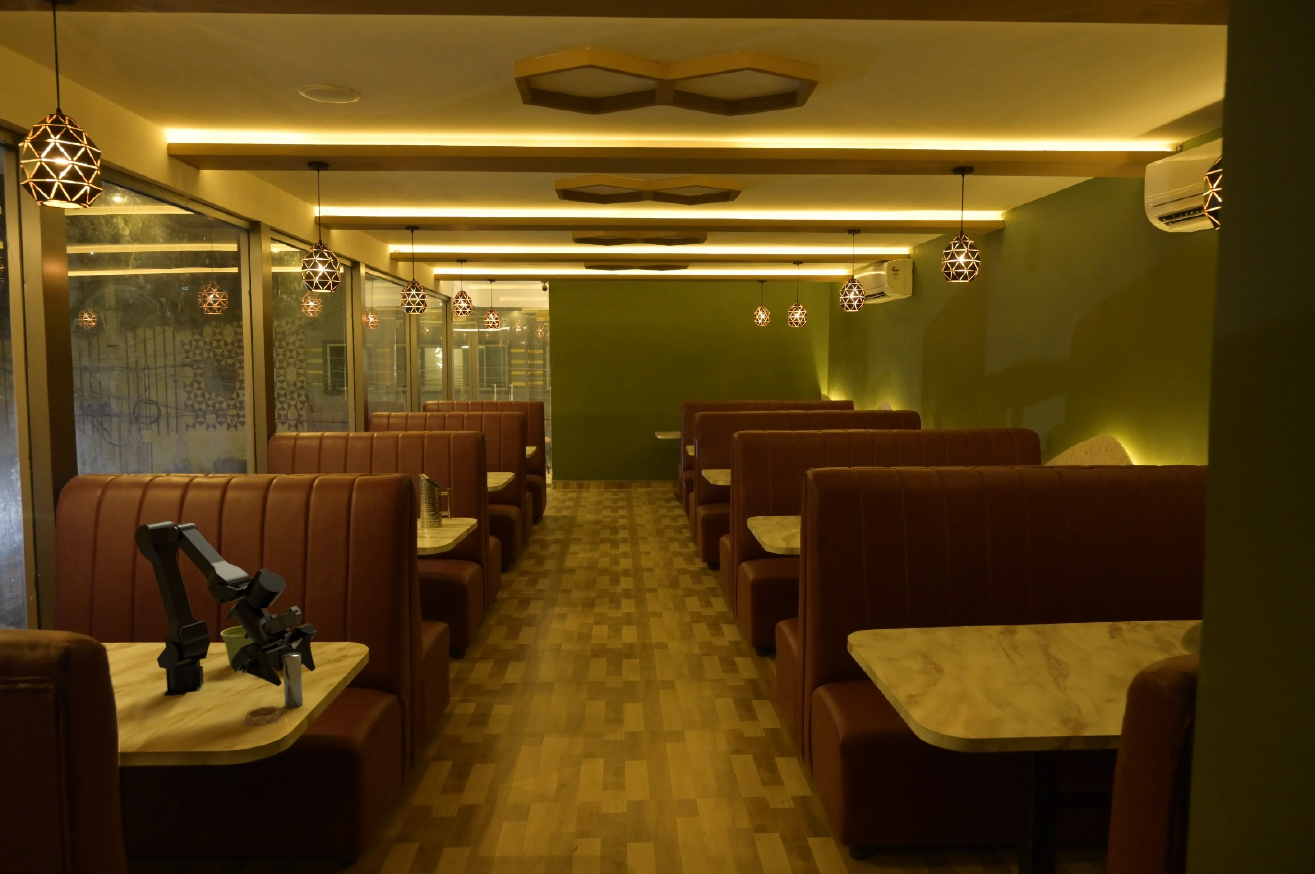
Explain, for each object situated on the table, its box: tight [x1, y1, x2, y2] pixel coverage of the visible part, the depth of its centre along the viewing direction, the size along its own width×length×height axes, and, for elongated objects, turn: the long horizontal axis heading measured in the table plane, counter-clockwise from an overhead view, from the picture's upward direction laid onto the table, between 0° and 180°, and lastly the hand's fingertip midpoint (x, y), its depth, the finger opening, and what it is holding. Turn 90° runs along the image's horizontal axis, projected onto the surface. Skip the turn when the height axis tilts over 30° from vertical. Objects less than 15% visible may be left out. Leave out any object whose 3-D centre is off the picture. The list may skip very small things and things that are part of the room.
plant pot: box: [220, 625, 254, 668], centre depth 206 cm, size 9×9×9 cm
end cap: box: [267, 631, 303, 671], centre depth 206 cm, size 10×7×7 cm
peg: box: [282, 653, 304, 710], centre depth 177 cm, size 4×4×12 cm
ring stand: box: [241, 705, 285, 727], centre depth 171 cm, size 7×6×2 cm
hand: (297, 677), depth 176 cm, fingers open, 9 cm apart
